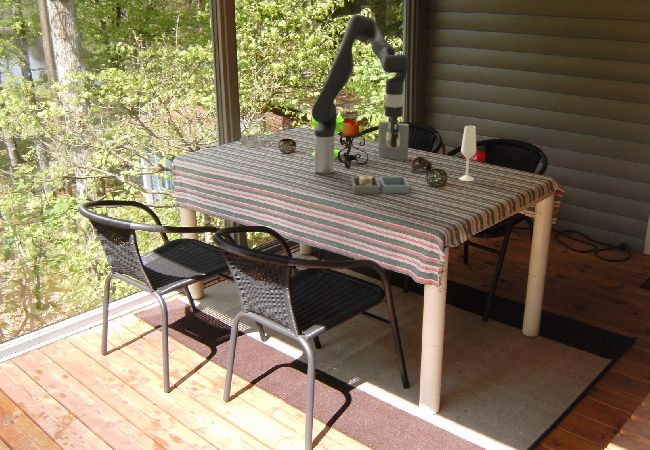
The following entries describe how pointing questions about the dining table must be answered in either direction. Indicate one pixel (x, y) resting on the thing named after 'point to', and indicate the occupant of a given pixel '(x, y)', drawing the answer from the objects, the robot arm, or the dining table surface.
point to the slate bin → (394, 185)
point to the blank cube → (365, 181)
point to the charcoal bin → (365, 189)
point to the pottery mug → (421, 163)
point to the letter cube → (388, 139)
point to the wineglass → (338, 126)
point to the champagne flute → (468, 148)
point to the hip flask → (393, 152)
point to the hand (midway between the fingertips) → (392, 144)
